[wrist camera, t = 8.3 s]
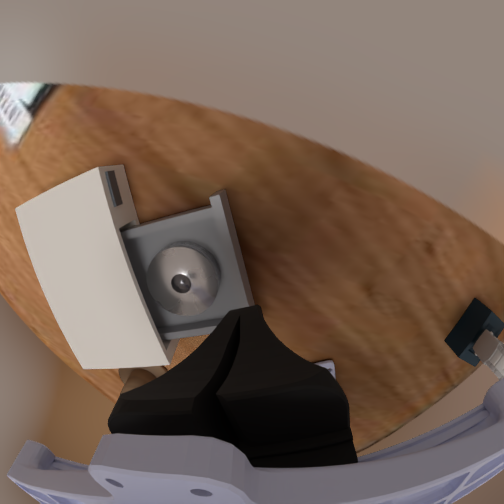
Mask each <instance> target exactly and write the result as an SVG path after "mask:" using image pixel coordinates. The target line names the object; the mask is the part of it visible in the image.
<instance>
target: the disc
mask: <svg viewBox="0 0 504 504" xmlns="http://www.w3.org/2000/svg"><path fill="white" fill-rule="evenodd" d="M220 280H221V275H220V269H219V266H218V264H217V262H216V260H215V258H214V257H213V256H212V255H211V253H210V252H208V251H207V250H206V249H205V248H203V247H201V246H200V245H197V244H195V243H191V242H175V243H172V244H170V245H168V246H166V247H165V248H163V249H162V250H161V251H160V252H159V253H158V254H157V255H156V256H155V257H154V259H153V260H152V261H151V263H150V265H149V267H148V270H147V286H148V289H149V291H150V294H151V295H152V297H153V299H154V300H155V301H156V302H157V303H158V304H159V305H160V306H161V307H162V308H164V309H165V310H167V311H169V312H171V313H173V314H177V315H182V316H192V315H197V314H199V313H202V312H204V311H205V310H207V309H208V308H209V307H210V306H211V305H212V304H213V302H214V300H215V299H216V296H217V293H218V289H219V286H220Z"/></svg>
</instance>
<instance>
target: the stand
mask: <svg viewBox="0 0 504 504" xmlns="http://www.w3.org/2000/svg"><path fill="white" fill-rule="evenodd" d="M166 372H168V371H167V369H166V368H165V367H164V366H163V365H162V366H149V367H133V368H119V376H120V378H121V380H122V381H123V383H124V384H125V385H124V387H123V389H122V391H121V393H120V394H122V393H125V392H127V391H130V390H132V389H135V388H137V387H140V386H142V385H144V384H146V383H148V382H150V381H152V380H154V379H156V378H158V377H159V376H161V375H163V374H164V373H166Z"/></svg>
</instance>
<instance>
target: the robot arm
mask: <svg viewBox="0 0 504 504" xmlns="http://www.w3.org/2000/svg"><path fill="white" fill-rule="evenodd" d="M329 368H331V369H330V370H328V369H329ZM108 427H109V430H110V431H111V433H112V434H109V435H103V436H102V438H101V440H100V443H99V445H98V447H97V449H96V451H95V453H94V456H93V458H92V460H91V463H90V465H85V464H81V463H77V462H73V461H70V460H66V459H62V458H59V457H56V456H55V455H54V454H53V453H52V452H51V451H50V450H49V449H48V448H47V447H46V446H44V445H43V444H41V443H38V442H35V441H32V440H27V441H26V443H25V445H24V446H23V448H22V449H21V451H20V453H19V454H18V456H17V458H16V459H15V461H14V463H13V465H12V466H11V468H10V470H9V471H8V474H7V476H8V477H9V478H10V479H11V480H12V481H13V482H15V483H16V484H17V485H18V486H19V487H20V488H22V489H23V490H24V491H25V492H27V493H28V494H29V495H30V496H32V497H33V498H34V499H36V500H37V501H38V502H40V503H41V504H452V503H454V502H455V501H457V500H459V499H460V498H462V497H464V496H465V495H467V494H468V493H470V492H471V491H473V490H475V489H476V488H478V487H479V486H481V485H482V484H484V483H485V482H487V481H488V480H489V479H491V478H492V477H494V476H495V475H496V474H498V473H499V472H501V471H502V470H503V469H504V378H502V379H501V380H499V381H498V382H496V383H495V384H494V385H492V386H491V387H490V388H489V390H488V391H487V393H486V395H485V397H484V400H483V403H482V404H481V405H479V406H477V407H476V408H474V409H472V410H471V411H469V412H467V413H465V414H463V415H461V416H459V417H458V418H456V419H454V420H452V421H450V422H448V423H446V424H444V425H442V426H440V427H438V428H435V429H433V430H431V431H429V432H426V433H424V434H422V435H419V436H417V437H415V438H412V439H410V440H407V441H405V442H402V443H399V444H397V445H394V446H391V447H388V448H386V449H383V450H380V451H377V452H374V453H370V454H367V455H364V456H360V457H357V455H356V451H355V447H354V444H353V436H352V432H351V429H350V416H349V403H348V400H347V398H346V395H345V394H344V392H343V390H342V388H341V387H340V385H339V383H338V382H337V381H336V379H335V366H334V363H333V361H332V360H327V361H323V362H319V363H311V362H309V361H307V360H305V359H303V358H302V357H300V356H299V355H297V354H296V353H294V352H293V351H291V350H290V349H289V348H288V347H286V346H285V345H284V344H283V343H282V342H281V341H280V340H279V339H278V338H277V337H276V336H275V335H274V333H273V332H272V331H271V329H270V328H269V327H268V325H267V323H266V322H265V320H264V317H263V314H262V310H261V307H260V306H259V305H253V306H249V307H244V308H239V309H234V310H230V311H229V312H228V313H227V314H226V315H225V317H224V318H223V319H222V320H221V322H220V323H219V324H218V325H217V327H216V328H215V329H214V330H213V332H212V333H211V334H210V335H209V336H208V337H207V338H206V339H205V340H204V342H203V343H202V344H201V345H200V346H199V347H198V348H197V349H196V350H195V351H194V352H193V353H191V354H190V355H189V356H188V357H187V358H186V359H184V360H183V361H182V362H181V363H179V364H178V365H176V366H175V367H173V368H172V369H170V370H169V371H168V372H166V373H164V374H163V375H161V376H159V377H158V378H156V379H154V380H152V381H150V382H148V383H146V384H144V385H142V386H140V387H137V388H135V389H132V390H130V391H127V392H125V393H122V394H120V396H119V398H118V400H117V402H116V404H115V407H114V408H113V411H112V413H111V415H110V417H109V419H108Z"/></svg>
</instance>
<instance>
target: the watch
mask: <svg viewBox="0 0 504 504" xmlns="http://www.w3.org/2000/svg"><path fill="white" fill-rule="evenodd" d="M503 328H504V323H503V322H502V321H501V320H500V319H499V318H498V317H497V316H496V315H495V314H494V313H493V312H492V311H491V310H490V309H489V308H487V307H486V306H485V305H484V304H482V303H481V302H480V301H479V300H477V299H476V298H474V300H473V301H472V303H471V304H470V306H469V307H468V309H467V310H466V312H465V313H464V314H463V316H462V317H461V319H460V320H459V322H458V323H457V324H456V326H455V327H454V328H453V330H452V331H451V332H450V334H449V335H448V336H447V338H446V339H445V340H444V341H445V342H446V343H447V344H448V345H449V347H450V348H451V349H452V350H453V351H454V353H455V354H456V355H457V356H458V357H459V358H461V359H462V360H464V361H466V362H468V363H469V364H471V365H473V366H476V365H477V364H478V363H479V361H480V360H481V361H482V362H483V364H485V365H487V366H488V367H489V368H490V369H491V370H492V372H494V374H495V375H496V376H497V377H498V378H499V380H501V379H502V378H504V344H503V343H502V342H501V341H499V340H498V339H497V337H498V336H499V334H500V333H501V331H502V330H503Z"/></svg>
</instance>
